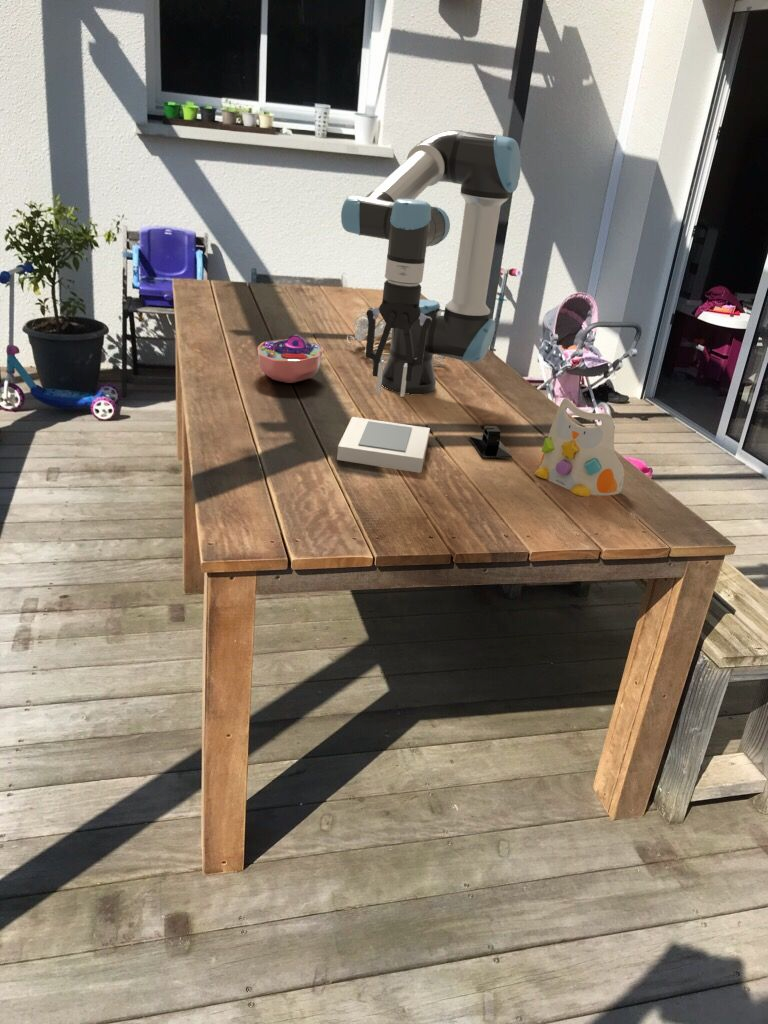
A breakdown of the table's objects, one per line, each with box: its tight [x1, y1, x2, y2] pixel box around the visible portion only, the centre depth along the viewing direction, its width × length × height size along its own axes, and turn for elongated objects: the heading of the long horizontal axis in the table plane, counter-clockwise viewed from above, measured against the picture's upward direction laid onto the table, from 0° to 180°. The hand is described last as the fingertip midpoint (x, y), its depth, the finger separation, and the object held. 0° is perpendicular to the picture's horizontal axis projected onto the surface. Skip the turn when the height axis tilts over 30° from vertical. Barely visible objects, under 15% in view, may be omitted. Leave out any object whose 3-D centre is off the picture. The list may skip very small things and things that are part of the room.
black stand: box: [468, 425, 513, 459], centre depth 191 cm, size 12×7×5 cm, turn 9°
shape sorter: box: [534, 397, 625, 498], centre depth 177 cm, size 20×10×18 cm, turn 45°
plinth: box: [336, 416, 431, 474], centre depth 183 cm, size 18×18×4 cm
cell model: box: [257, 334, 324, 384], centre depth 219 cm, size 17×20×11 cm
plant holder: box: [346, 309, 446, 368], centre depth 249 cm, size 28×35×16 cm
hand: (390, 392), depth 177 cm, fingers open, 4 cm apart
